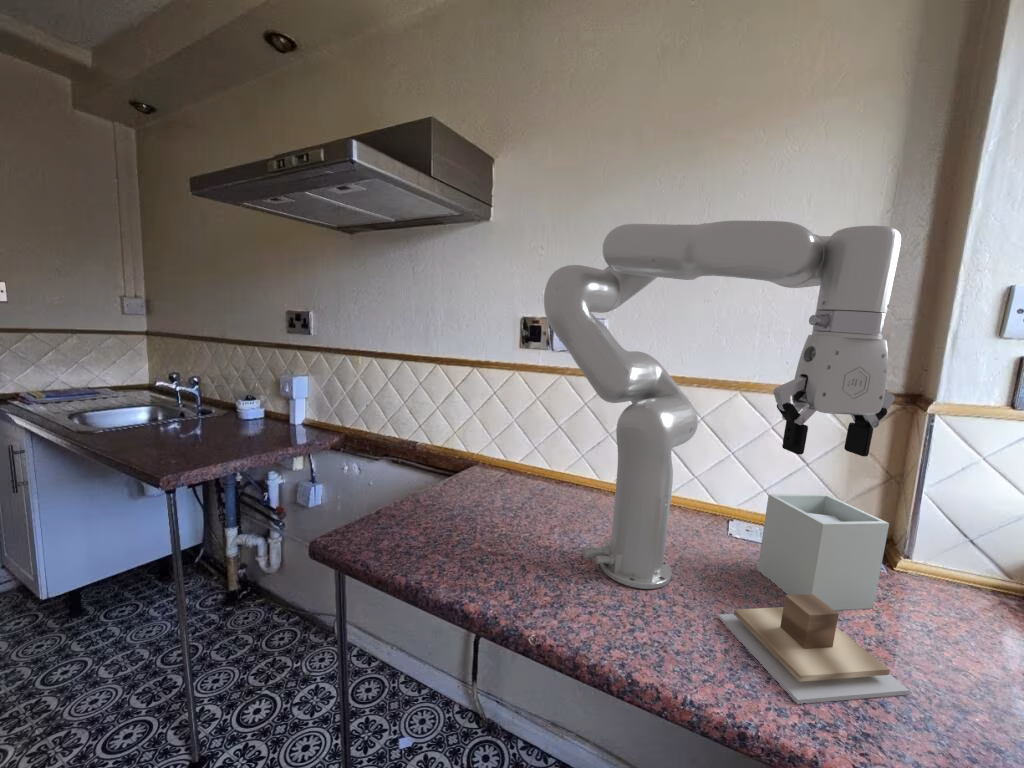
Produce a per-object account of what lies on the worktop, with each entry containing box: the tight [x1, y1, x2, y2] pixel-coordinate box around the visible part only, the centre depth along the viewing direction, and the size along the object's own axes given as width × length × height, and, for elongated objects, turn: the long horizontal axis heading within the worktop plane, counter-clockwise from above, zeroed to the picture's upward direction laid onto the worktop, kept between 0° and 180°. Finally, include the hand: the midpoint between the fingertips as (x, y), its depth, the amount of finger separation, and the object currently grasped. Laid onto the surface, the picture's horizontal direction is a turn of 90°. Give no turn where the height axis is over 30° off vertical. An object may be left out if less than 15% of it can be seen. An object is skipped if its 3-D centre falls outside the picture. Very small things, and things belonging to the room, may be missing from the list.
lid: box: [733, 594, 891, 682], centre depth 64 cm, size 13×13×7 cm
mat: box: [717, 613, 910, 705], centre depth 64 cm, size 16×16×1 cm
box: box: [757, 493, 890, 611], centre depth 80 cm, size 12×12×15 cm
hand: (824, 452), depth 62 cm, fingers open, 9 cm apart
